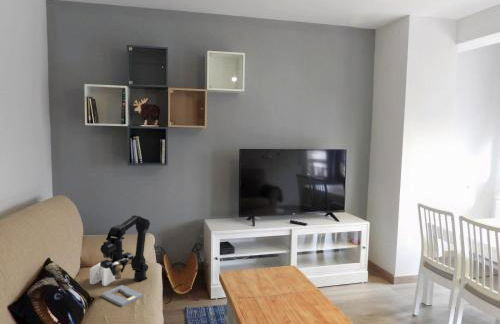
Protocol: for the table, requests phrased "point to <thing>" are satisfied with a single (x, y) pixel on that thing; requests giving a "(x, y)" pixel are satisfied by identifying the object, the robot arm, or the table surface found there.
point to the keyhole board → (118, 299)
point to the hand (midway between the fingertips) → (117, 274)
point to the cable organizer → (101, 275)
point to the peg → (118, 271)
